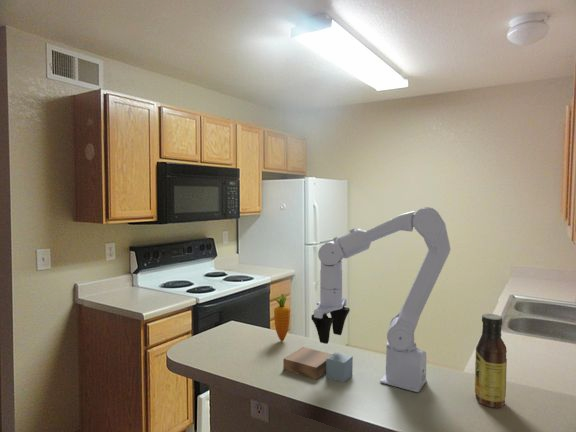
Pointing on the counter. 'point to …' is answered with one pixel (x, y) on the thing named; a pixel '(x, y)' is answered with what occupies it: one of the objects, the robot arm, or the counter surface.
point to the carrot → (281, 318)
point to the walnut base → (306, 362)
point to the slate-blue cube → (339, 366)
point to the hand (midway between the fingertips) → (330, 338)
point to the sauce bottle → (491, 363)
